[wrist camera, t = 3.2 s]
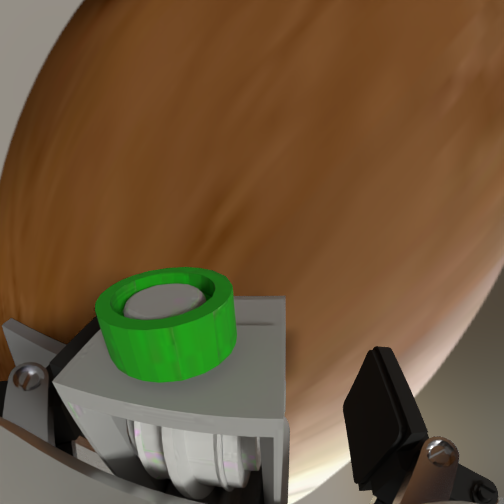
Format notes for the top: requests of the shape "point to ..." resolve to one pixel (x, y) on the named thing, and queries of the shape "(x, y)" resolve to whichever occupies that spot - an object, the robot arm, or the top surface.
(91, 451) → the grey matte cube
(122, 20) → the top surface
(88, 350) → the mechanical component
